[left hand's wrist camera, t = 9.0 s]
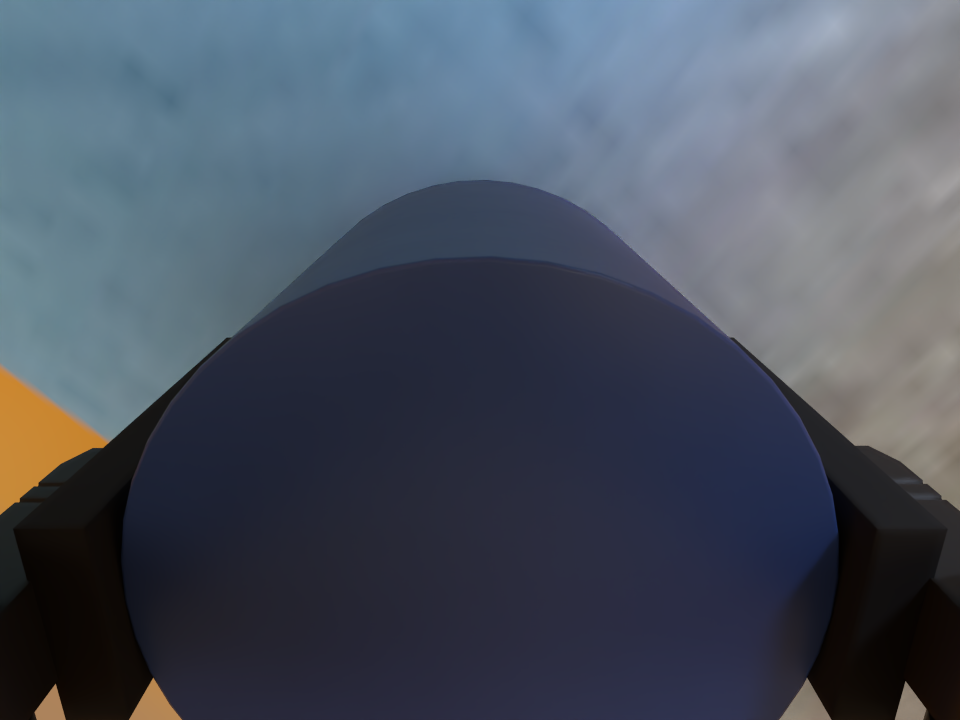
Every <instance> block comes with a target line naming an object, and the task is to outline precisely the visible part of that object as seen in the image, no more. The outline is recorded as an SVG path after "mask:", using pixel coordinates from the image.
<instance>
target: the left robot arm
mask: <svg viewBox="0 0 960 720" xmlns="http://www.w3.org/2000/svg"><path fill="white" fill-rule="evenodd" d="M230 339H231V338H226V339H225V340H224V341H223V342H221V343H220V344H219V345H218V346H217V347H216V348H215V349H214V350H212V351H211V352H210V353H209V354H208V355H207V356H206V357H205V358H204V359H202V360H201V361H200V362H199V363H198V364H197V365H196V366H195V367H193V368H192V369H191V370H190V371H189V372H188V373H187V374H186V375H184V376H183V377H182V378H181V379H180V380H179V381H178V382H177V383H176V384H174V385H173V386H172V387H171V388H170V389H169V390H168V391H167V392H165V393H164V394H163V395H162V396H161V397H160V398H159V399H158V400H156V401H155V402H154V403H153V404H152V405H151V406H150V407H149V408H148V409H146V410H145V411H144V412H143V413H142V414H141V415H140V416H139V417H137V418H136V419H135V420H134V421H133V422H132V423H131V424H130V425H128V426H127V427H126V428H125V429H124V430H123V431H122V432H121V433H120V434H118V435H117V436H116V437H115V438H114V439H113V440H112V441H111V442H109V443H108V444H107V445H106V446H105V447H104V448H92V449H90V450H88V451H86V452H84V453H82V454H80V455H78V456H76V457H74V458H72V459H70V460H68V461H66V462H64V463H62V464H60V465H59V466H58V467H57V468H56V469H54V470H53V471H52V472H51V473H50V474H48V475H47V476H46V477H45V478H44V479H42V480H41V481H40V482H39V485H38V487H33V488H32V489H31V490H29V491H28V492H27V493H26V494H25V495H23V496H22V497H21V498H20V502H19V503H14V504H13V505H12V506H10V507H9V508H8V509H7V510H6V511H4V512H3V513H2V514H1V515H0V720H37V719H36V716H35V713H34V712H35V710H36V709H37V708H38V707H39V705H40V704H41V702H42V701H43V700H44V698H45V697H46V696H47V694H48V693H49V692H50V690H51V689H52V688H53V686H54V685H55V684H56V686H57V689H58V693H59V697H60V700H61V704H62V707H63V711H64V715H65V718H66V720H129V718H130V717H131V715H132V713H133V712H134V710H135V708H136V706H137V705H138V703H139V701H140V699H141V698H142V696H143V694H144V693H145V691H146V689H147V687H148V686H149V684H150V682H151V680H152V679H153V676H152V674H151V673H150V671H149V668H148V666H147V664H146V662H145V659H144V657H143V655H142V652H141V650H140V648H139V645H138V643H137V641H136V639H135V635H134V632H133V628H132V624H131V621H130V617H129V613H128V609H127V606H126V602H125V595H124V586H123V577H122V567H121V550H122V531H123V519H124V514H125V509H126V505H127V500H128V496H129V491H130V486H131V482H132V478H133V476H134V473H135V471H136V468H137V466H138V463H139V461H140V458H141V456H142V453H143V451H144V448H145V446H146V443H147V441H148V439H149V437H150V435H151V434H152V432H153V430H154V429H155V427H156V425H157V424H158V422H159V420H160V419H161V417H162V415H163V414H164V412H165V410H166V409H167V407H168V405H169V404H170V402H171V401H172V400H173V398H174V397H175V396H176V395H177V394H178V392H179V391H180V390H181V389H182V388H183V386H184V385H185V384H186V383H187V382H188V380H189V379H190V378H191V377H192V376H193V374H194V373H195V372H196V371H197V370H198V369H199V367H200V366H201V365H202V364H203V363H204V362H206V361H207V360H208V359H209V358H210V357H211V356H212V355H213V354H214V353H215V352H217V351H218V350H219V349H220V348H221V347H222V346H223V345H224V344H225V343H226V342H228V341H229V340H230ZM730 339H731V340H732V341H733V342H734V343H736V344H737V345H738V346H739V347H740V348H741V349H742V350H743V351H744V352H745V353H746V354H747V355H748V356H749V357H750V358H751V359H752V360H753V361H754V362H755V363H756V364H757V365H758V366H759V367H760V368H761V369H762V370H763V371H764V372H765V373H766V374H767V375H768V376H769V377H770V378H771V379H772V380H773V381H774V383H775V384H776V385H777V387H778V388H779V389H780V391H781V392H782V394H783V395H784V396H785V398H786V399H787V400H788V402H789V403H790V404H791V406H792V407H793V408H794V410H795V411H796V413H797V414H798V415H799V417H800V418H801V420H802V422H803V424H804V426H805V428H806V430H807V432H808V434H809V436H810V438H811V440H812V442H813V444H814V446H815V448H816V450H817V451H818V453H819V455H820V458H821V461H822V464H823V467H824V470H825V474H826V477H827V480H828V483H829V486H830V489H831V492H832V495H833V501H834V508H835V514H836V521H837V528H838V534H839V578H838V583H837V589H836V595H835V601H834V607H833V612H832V617H831V620H830V623H829V626H828V629H827V632H826V635H825V638H824V641H823V644H822V647H821V650H820V652H819V654H818V656H817V658H816V660H815V662H814V664H813V666H812V668H811V670H810V672H809V674H808V676H807V678H808V680H809V681H810V683H811V685H812V687H813V688H814V690H815V692H816V693H817V695H818V697H819V699H820V700H821V702H822V704H823V706H824V707H825V709H826V711H827V713H828V714H829V716H830V718H831V719H832V720H895V717H896V713H897V709H898V706H899V702H900V699H901V695H902V691H903V688H904V684H905V681H906V682H907V683H908V685H909V686H910V687H911V689H912V690H913V691H914V693H915V694H916V695H917V697H918V698H919V699H920V701H921V702H922V703H923V705H924V706H925V707H926V713H925V716H924V719H923V720H960V511H959V510H958V509H956V508H955V507H954V506H953V505H952V504H950V503H949V502H948V501H947V500H942V499H941V495H940V494H938V493H937V492H936V491H935V490H934V489H932V488H931V487H930V486H929V485H928V484H923V480H922V479H920V478H919V477H918V476H917V475H916V474H914V473H913V472H912V471H911V470H910V469H908V468H907V467H906V466H905V465H904V464H902V463H901V462H900V461H898V460H896V459H894V458H892V457H890V456H888V455H886V454H884V453H882V452H880V451H878V450H876V449H874V448H872V447H869V446H854V445H853V444H852V443H851V442H850V441H849V440H848V439H847V438H845V437H844V436H843V435H842V434H841V433H840V432H839V431H838V430H836V429H835V428H834V427H833V426H832V425H831V424H830V423H829V422H828V421H826V420H825V419H824V418H823V417H822V416H821V415H820V414H819V413H817V412H816V411H815V410H814V409H813V408H812V407H811V406H810V405H808V404H807V403H806V402H805V401H804V400H803V399H802V398H801V397H800V396H798V395H797V394H796V393H795V392H794V391H793V390H792V389H791V388H789V387H788V386H787V385H786V384H785V383H784V382H783V381H782V380H780V379H779V378H778V377H777V376H776V375H775V374H774V373H773V372H771V371H770V370H769V369H768V368H767V367H766V366H765V365H764V364H763V363H761V362H760V361H759V360H758V359H757V358H756V357H755V356H754V355H752V354H751V353H750V352H749V351H748V350H747V349H746V348H745V347H743V346H742V345H741V344H740V343H739V342H738V341H737V340H736V339H735V338H730Z"/></svg>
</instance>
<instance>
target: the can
mask: <svg viewBox="0 0 960 720" xmlns="http://www.w3.org/2000/svg"><path fill="white" fill-rule="evenodd" d="M121 567H122V577H123V586H124V595H125V602H126V606H127V609H128V613H129V617H130V621H131V624H132V628H133V632H134V635H135V639H136V641H137V643H138V645H139V648H140V650H141V652H142V655H143V657H144V659H145V662H146V664H147V666H148V668H149V671H150V673H151V674H152V676H153V678H154V679H155V681H156V683H157V684H158V686H159V687H160V689H161V691H162V692H163V694H164V696H165V697H166V699H167V701H168V702H169V704H170V705H171V706H172V708H173V709H174V710H175V711H176V713H177V714H178V715H179V716H180V718H181V719H182V720H779V719H780V718H781V716H782V715H783V714H784V712H785V711H786V709H787V708H788V706H789V705H790V703H791V702H792V701H793V699H794V698H795V696H796V695H797V693H798V692H799V690H800V689H801V687H802V686H803V684H804V682H805V680H806V678H807V676H808V674H809V672H810V670H811V668H812V666H813V664H814V662H815V660H816V658H817V656H818V654H819V652H820V650H821V647H822V644H823V641H824V638H825V635H826V632H827V629H828V626H829V623H830V620H831V617H832V612H833V607H834V601H835V595H836V589H837V583H838V578H839V534H838V528H837V521H836V514H835V508H834V501H833V495H832V492H831V489H830V486H829V483H828V480H827V477H826V474H825V470H824V467H823V464H822V461H821V458H820V455H819V453H818V451H817V450H816V448H815V446H814V444H813V442H812V440H811V438H810V436H809V434H808V432H807V430H806V428H805V426H804V424H803V422H802V420H801V418H800V417H799V415H798V414H797V413H796V411H795V410H794V408H793V407H792V406H791V404H790V403H789V402H788V400H787V399H786V398H785V396H784V395H783V394H782V392H781V391H780V389H779V388H778V387H777V385H776V384H775V383H774V381H773V380H772V379H771V378H770V377H769V376H768V375H767V374H766V373H765V372H764V371H763V370H762V369H761V368H760V367H759V366H758V365H757V364H756V363H755V362H754V361H753V360H752V359H751V358H750V357H749V356H748V355H747V354H746V353H745V352H744V351H743V350H742V349H741V348H740V347H739V346H738V345H737V344H736V343H734V342H733V341H732V340H731V339H730V338H729V337H728V336H727V335H726V334H725V333H723V332H722V331H721V330H720V329H719V328H718V327H717V326H716V325H715V324H714V323H712V322H711V321H710V320H709V319H708V318H707V317H706V316H705V315H704V314H703V313H701V312H700V311H699V310H698V309H697V308H696V307H695V306H694V305H693V304H692V303H690V302H689V301H688V300H687V299H686V298H685V297H684V296H683V295H682V294H681V293H679V292H678V291H677V290H676V289H675V288H674V287H673V286H672V285H671V284H670V283H668V282H667V281H666V280H665V279H664V278H663V277H662V276H661V275H660V274H658V273H657V272H656V271H655V270H654V269H653V268H652V267H651V266H650V265H649V264H647V263H646V262H645V261H644V260H643V259H642V258H641V257H640V256H639V255H638V254H636V253H635V252H634V251H633V250H632V249H631V248H630V247H629V246H628V245H627V244H625V243H624V242H623V241H622V240H621V239H620V238H619V237H618V236H617V235H616V234H614V233H613V232H612V231H611V230H610V229H609V228H608V227H607V226H605V225H604V224H603V223H601V222H600V221H599V220H597V219H596V218H595V217H593V216H592V215H591V214H589V213H588V212H587V211H585V210H583V209H582V208H580V207H578V206H576V205H574V204H572V203H571V202H569V201H567V200H565V199H563V198H561V197H558V196H556V195H553V194H551V193H548V192H545V191H543V190H540V189H537V188H533V187H528V186H524V185H520V184H516V183H510V182H500V181H489V180H478V181H457V182H452V183H446V184H440V185H435V186H431V187H428V188H424V189H421V190H418V191H415V192H412V193H409V194H406V195H404V196H402V197H400V198H398V199H396V200H394V201H392V202H390V203H387V204H385V205H383V206H382V207H380V208H379V209H377V210H376V211H374V212H373V213H371V214H370V215H368V216H367V217H365V218H364V219H362V220H361V221H360V222H359V223H358V224H357V225H355V226H354V227H353V228H352V229H351V230H350V231H349V232H347V233H346V234H345V235H344V236H343V237H342V238H341V239H340V240H339V241H337V242H336V243H335V244H334V245H333V246H332V247H331V248H330V249H329V250H328V251H326V252H325V253H324V254H323V255H322V256H321V257H320V258H319V259H318V260H317V261H315V262H314V263H313V264H312V265H311V266H310V267H309V268H308V269H307V270H306V271H304V272H303V273H302V274H301V275H300V276H299V277H298V278H297V279H296V280H295V281H293V282H292V283H291V284H290V285H289V286H288V287H287V288H286V289H285V290H284V291H282V292H281V293H280V294H279V295H278V296H277V297H276V298H275V299H274V300H273V301H272V302H270V303H269V304H268V305H267V306H266V307H265V308H264V309H263V310H262V311H261V312H259V313H258V314H257V315H256V316H255V317H254V318H253V319H252V320H251V321H250V322H248V323H247V324H246V325H245V326H244V327H243V328H242V329H241V330H240V331H239V332H237V333H236V334H235V335H234V336H233V337H232V338H231V339H230V340H229V341H228V342H226V343H225V344H224V345H223V346H222V347H221V348H220V349H219V350H218V351H217V352H215V353H214V354H213V355H212V356H211V357H210V358H209V359H208V360H207V361H206V362H204V363H203V364H202V365H201V366H200V367H199V369H198V370H197V371H196V372H195V373H194V374H193V376H192V377H191V378H190V379H189V380H188V382H187V383H186V384H185V385H184V386H183V388H182V389H181V390H180V391H179V392H178V394H177V395H176V396H175V397H174V398H173V400H172V401H171V402H170V404H169V405H168V407H167V409H166V410H165V412H164V414H163V415H162V417H161V419H160V420H159V422H158V424H157V425H156V427H155V429H154V430H153V432H152V434H151V435H150V437H149V439H148V441H147V443H146V446H145V448H144V451H143V453H142V456H141V458H140V461H139V463H138V466H137V468H136V471H135V473H134V476H133V478H132V482H131V486H130V491H129V496H128V500H127V505H126V509H125V514H124V519H123V531H122V550H121Z"/></svg>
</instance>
